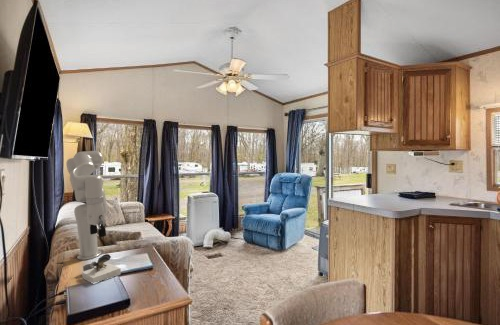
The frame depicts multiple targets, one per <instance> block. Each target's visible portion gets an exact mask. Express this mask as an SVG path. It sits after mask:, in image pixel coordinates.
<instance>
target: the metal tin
mask: <svg viewBox="0 0 500 325" xmlns="http://www.w3.org/2000/svg"><path fill="white" fill-rule="evenodd" d="M90 264H91V263H88V264H85V265H83V266H82V270H83V271H82V272H84V271H87V270H90V269H93V268H95V267H94V266H93V267H92V266H91V265H90Z"/></svg>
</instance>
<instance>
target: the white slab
mask: <svg viewBox="0 0 500 325" xmlns="http://www.w3.org/2000/svg"><path fill="white" fill-rule="evenodd" d="M104 264H105V265H104V266H105V267H106V269H105V268H102V267H100V268H99V270H98V272H97V269H94V268H95V267H94V268H93V269H90V270H87V271H84V272H83V271H82V272H81V275H82V279H84V281H87V282H89V283H90V282H93V283H94V282H98V281H101V280H104V279H107V278H109V279H112V278H114V276H115V277H118V276H120V275H122V273H121V272H122V270H121V267H118V266H116V265H114V264H111V263H104ZM111 277H112V278H111ZM107 280H108V279H107ZM104 281H105V280H104ZM101 282H102V281H101Z"/></svg>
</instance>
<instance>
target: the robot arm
mask: <svg viewBox="0 0 500 325" xmlns="http://www.w3.org/2000/svg"><path fill="white" fill-rule="evenodd" d="M103 159H104V158H103V155H102V153H101V152H100V151H98V150H89V151H78V152H77V153H75V154H74V156H73V157H71V158H68V159H67V160H66V169H67V172H68V174H69V183H70V185H71V188H72V190H74V192H73V193H74V197H75V201H76V202H78V203H83V204H79V205H77V206H76V207H75V208H74V210H73V212H74V217H75V221H76V225H77V226H76V227H77V236H78V246H79V247H78V248H79V254H78V255H77V258H76V259H78V260H79V261H85V260H91V259H95V258H97V257H100V256H102V251H101V250H99V248H98V247H99V246H98V237H99V238H102V237H106V236H107V233H106V232H107V231H106V229H107V228H106V227H107V226H106V222H107V221H106V216H107V214H108V205H107V198H106V193H105V188H104V186H103V185H104V178H103V176H102V175H100V174H93V173H94V171H97V170H99V169H100V167H101V166H102V164H103V161H104V160H103ZM97 234H98V236H97Z"/></svg>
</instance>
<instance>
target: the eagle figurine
mask: <svg viewBox="0 0 500 325" xmlns="http://www.w3.org/2000/svg"><path fill="white" fill-rule="evenodd" d="M110 260H111V255H110V254H108V253H107V254H106V253H105V254H103V255H101V256H99V257H98V260H97V262H96V261H93V262H90V263H89V264H90V265H91V266H92V267H93V266H94V269H97V272H98V270H99V268H100V267H102V268H105V269H106V267H105V266H104V265H105V264H106V262H108V261H110Z"/></svg>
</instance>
